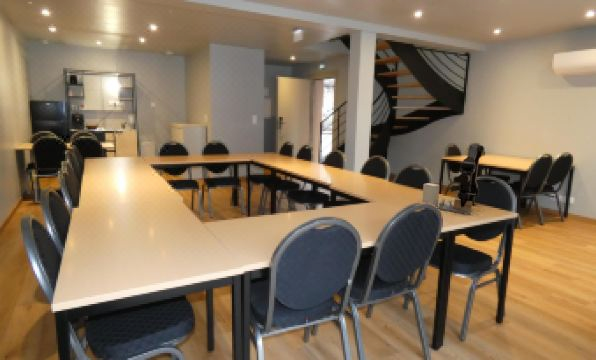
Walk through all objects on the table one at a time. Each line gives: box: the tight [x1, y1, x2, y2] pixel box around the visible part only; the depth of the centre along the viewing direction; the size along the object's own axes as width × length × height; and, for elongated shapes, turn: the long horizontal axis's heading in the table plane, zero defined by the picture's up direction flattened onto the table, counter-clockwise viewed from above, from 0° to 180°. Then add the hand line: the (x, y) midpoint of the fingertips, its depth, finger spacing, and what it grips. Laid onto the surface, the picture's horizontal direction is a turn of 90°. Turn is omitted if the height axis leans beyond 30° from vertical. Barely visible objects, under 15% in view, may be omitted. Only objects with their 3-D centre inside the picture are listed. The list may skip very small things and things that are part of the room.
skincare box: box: [421, 182, 440, 208], centre depth 234 cm, size 8×6×15 cm
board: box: [438, 197, 472, 216], centre depth 231 cm, size 15×18×5 cm
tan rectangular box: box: [453, 198, 473, 212], centre depth 229 cm, size 5×10×5 cm, turn 62°
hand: (462, 206), depth 229 cm, fingers open, 7 cm apart
